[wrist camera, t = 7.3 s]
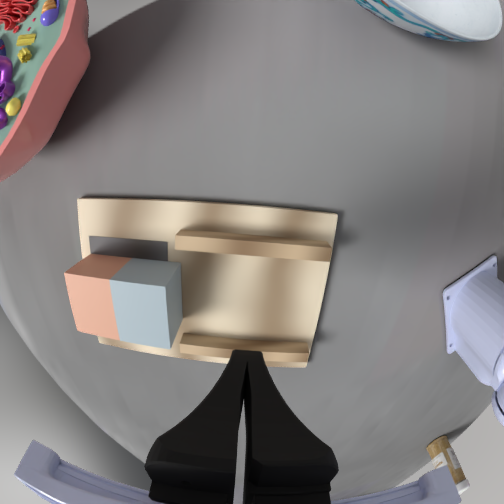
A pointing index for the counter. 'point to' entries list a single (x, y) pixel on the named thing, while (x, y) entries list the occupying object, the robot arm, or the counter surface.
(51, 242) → the counter surface
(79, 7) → the cell model
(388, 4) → the chinaware
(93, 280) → the terracotta block
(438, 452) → the sprinkles bottle
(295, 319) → the maple chute
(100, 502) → the robot arm
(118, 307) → the grey-blue block
